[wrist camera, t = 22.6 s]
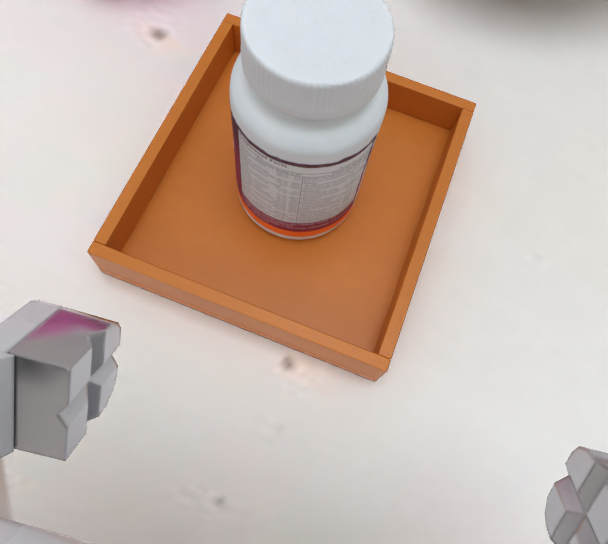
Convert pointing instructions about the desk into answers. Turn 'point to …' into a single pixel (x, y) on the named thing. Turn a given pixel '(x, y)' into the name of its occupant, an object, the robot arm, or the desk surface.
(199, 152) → the amber tray
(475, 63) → the desk surface
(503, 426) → the desk surface
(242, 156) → the pill bottle
